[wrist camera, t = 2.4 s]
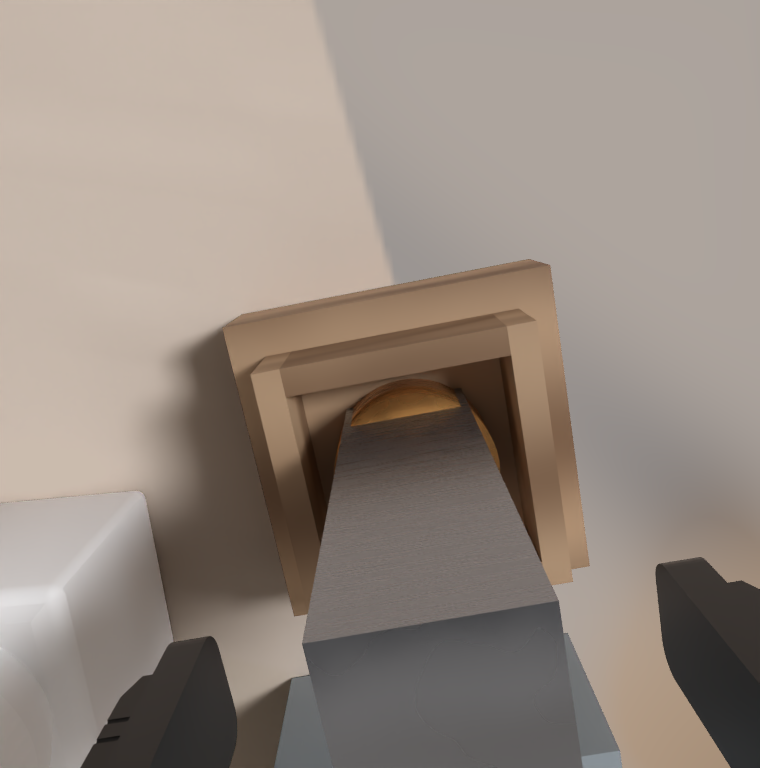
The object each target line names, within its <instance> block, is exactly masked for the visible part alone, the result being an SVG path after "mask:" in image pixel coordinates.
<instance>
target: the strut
mask: <svg viewBox="0 0 760 768" xmlns="http://www.w3.org/2000/svg"><path fill="white" fill-rule="evenodd" d="M302 645H303V649H304V653H305V657H306V661H307V665H308V669H309V673H310V677H311V681H312V685H313V689H314V693H315V697H316V701H317V705H318V709H319V713H320V717H321V721H322V725H323V729H324V733H325V737H326V741H327V745H328V749H329V753H330V757H331V761H332V765H333V768H583V765H582V758H581V752H580V745H579V738H578V731H577V724H576V717H575V710H574V703H573V696H572V689H571V683H570V676H569V669H568V662H567V655H566V648H565V641H564V634H563V627H562V621H561V614H560V607H559V601H558V599H557V596H556V594H555V592H554V590H553V587H552V585H551V583H550V581H549V579H548V576H547V574H546V572H545V570H544V568H543V566H542V563H541V561H540V559H539V557H538V555H537V553H536V550H535V548H534V546H533V544H532V542H531V539H530V537H529V535H528V533H527V531H526V529H525V526H524V524H523V522H522V520H521V518H520V516H519V513H518V511H517V509H516V507H515V505H514V502H513V500H512V498H511V496H510V494H509V492H508V489H507V487H506V485H505V483H504V481H503V479H502V476H501V474H500V462H499V457H498V453H497V449H496V447H495V444H494V442H493V439H492V437H491V435H490V433H489V431H488V429H487V427H486V425H485V423H484V421H483V419H482V418H481V416H480V414H479V412H478V411H477V410H476V408H475V407H474V406H473V404H472V403H471V402H470V401H469V400H468V399H467V398H466V397H465V396H464V394H463V392H462V389H461V388H457V389H453V388H451V387H449V386H447V385H444V384H442V383H439V382H436V381H432V380H426V379H403V380H397V381H394V382H390V383H387V384H385V385H382V386H380V387H378V388H376V389H374V390H373V391H371V392H370V393H368V394H367V395H366V396H364V397H363V398H362V399H361V400H360V401H359V402H358V403H357V404H356V405H355V406H354V408H348V409H347V410H346V415H345V421H344V425H343V427H342V430H341V434H340V437H339V442H338V447H337V452H336V457H335V464H334V479H333V484H332V489H331V494H330V500H329V505H328V510H327V516H326V521H325V526H324V531H323V537H322V542H321V547H320V552H319V558H318V563H317V568H316V573H315V579H314V584H313V589H312V594H311V600H310V605H309V610H308V616H307V621H306V626H305V631H304V637H303V642H302Z"/></svg>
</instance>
